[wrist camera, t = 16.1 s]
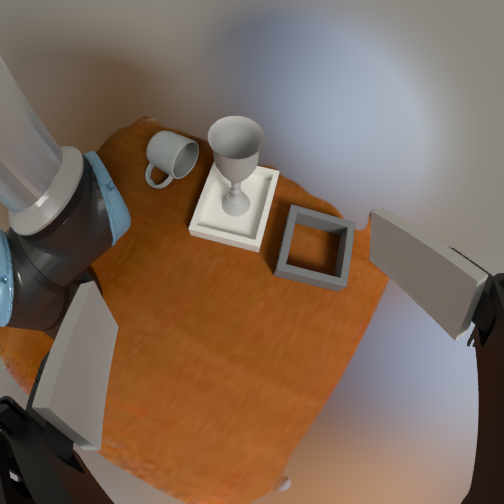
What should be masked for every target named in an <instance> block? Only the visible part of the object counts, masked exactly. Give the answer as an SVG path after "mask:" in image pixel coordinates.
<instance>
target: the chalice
mask: <svg viewBox="0 0 504 504" xmlns="http://www.w3.org/2000/svg"><path fill="white" fill-rule="evenodd" d="M264 137H265V136H264V133H263V130H262V128H261V127H260V126H259V125H258V124H257V123H256V122H254V121H253V120H251V119H248V118H245V117H242V116H230V117H225V118H222V119H220V120H218V121H217V122H215V123H214V124H213V125H212V126H211V128H210V130H209V132H208V141H209V145H210V146H211V147H212V149H213V154H214V162H215V165H216V167H217V169H218V170H219V171H220V173H221V174H222V175H223V176H224V177H225V178H226V179H228V180H229V181H230V182H231V186H232V187H231V189H230V190H231V191H229V192H228V193H227V194H226V195H225V196H224V198H223V200H222V209H223V210H224V212H225V213H227V214H228V215H230V216H236V217H238V216H242V215H244V214H245V213H246V212H247V211H248V210H249V208H250V200H249V198H248V197H247V195H246V194H245V193H244V192H242V191H241V187H240V186H241V182H242V181H244V180H245V179H247V178H248V177H249V176H250V175H251V174H252V173H253V171H254V170H255V169H256V166H257V164H258V157H259V151H260V149H262V147H263V144H264V142H265V138H264Z"/></svg>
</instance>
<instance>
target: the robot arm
mask: <svg viewBox="0 0 504 504" xmlns="http://www.w3.org/2000/svg"><path fill="white" fill-rule="evenodd" d="M0 202H1V203H2V204H3V205H5V206H6V207H7V208H8V209H9V222H10V225H11V227H10V228H9V229H8V230H7V231H6V232H5V233H4V232H3V231H2V230H1V229H0V326H1V327H4V326H7V327H14V328H21V329H30V330H38V331H42V332H44V333H45V334H47V335H48V336H50V337H51V338H53V339H54V340H55V341H54V343H53V346H52V348H51V351H50V352H48V353H47V355H46V356H45V357H44V359H43V360H42V362H41V364H40V367H39V370H38V374H37V375H36V378H35V382H34V384H33V387H32V390H31V393H30V397H29V400H28V404H27V407H26V410H24V409H23V408H22V407H21V406H19V405H18V403H16V402H15V401H14V400H13V399H12V398H11V397H9V396H4V397H2V398H0V430H1V431H0V504H114V503H113V502H112V500H111V499H110V498H109V497H108V495H107V494H106V493H105V492H104V490H103V489H102V488H101V486H100V485H99V484H98V482H97V481H96V480H95V478H94V477H93V475H92V474H91V473H90V471H89V470H88V468H87V467H86V465H85V464H84V462H83V461H82V459H81V458H80V456H79V455H78V454H77V453H76V451H75V450H73V443H76V444H77V445H78V446H79V447H81V448H83V449H84V450H101V437H102V426H103V416H104V407H105V400H106V392H107V385H108V379H109V373H110V367H111V362H112V356H113V351H114V346H115V341H116V336H117V332H118V325H117V323H116V322H115V320H114V318H113V316H112V314H111V313H110V311H109V309H108V307H107V305H106V303H105V301H104V299H103V296H102V290H101V287H100V284H99V282H98V280H97V278H96V276H95V275H94V273H93V272H92V271H91V270H90V269H88V268H87V267H89V266H90V265H91V264H92V263H93V262H94V261H95V260H96V259H98V258H99V257H100V256H101V255H102V254H103V253H104V252H106V251H107V250H108V249H109V248H110V247H112V246H114V245H115V243H116V241H117V240H118V239H119V238H120V237H121V236H122V235H123V234H124V233H125V232H126V231H127V230H128V229H129V227H130V224H131V217H130V214H129V211H128V209H127V207H126V205H125V203H124V201H123V199H122V197H121V195H120V193H119V191H118V189H117V188H116V186H115V185H114V184H113V181H112V179H111V177H110V175H109V173H108V171H107V169H106V168H105V166H104V164H103V163H102V161H101V159H100V158H99V156H98V155H97V154H96V153H95V152H94V151H90V152H88V153H85V154H83V155H82V154H81V153H80V151H79V150H78V149H77V148H75V147H73V146H60V147H59V146H58V144H57V143H56V141H55V140H54V139H53V137H52V136H51V135H50V133H49V132H48V130H47V129H46V127H45V126H44V125H43V123H42V122H41V120H40V119H39V117H38V116H37V114H36V113H35V111H34V110H33V108H32V107H31V105H30V104H29V103H28V101H27V99H26V98H25V96H24V94H23V93H22V91H21V90H20V88H19V86H18V85H17V83H16V81H15V80H14V78H13V76H12V75H11V73H10V71H9V70H8V68H7V66H6V64H5V63H4V61H3V59H2V57H1V55H0ZM369 260H370V261H371V262H372V263H373V264H375V265H376V266H377V267H378V268H379V269H380V270H381V271H383V272H384V273H385V274H386V275H387V276H388V277H389V278H390V279H391V280H393V281H394V282H395V283H396V284H397V285H398V286H399V287H400V288H401V289H403V290H404V291H405V292H406V293H407V294H408V295H409V296H410V297H411V298H412V299H413V300H414V301H415V302H416V303H417V304H418V305H420V306H421V307H422V308H423V309H424V310H425V311H426V312H427V313H428V314H429V315H430V316H431V317H432V318H433V319H434V320H435V321H436V322H437V323H438V324H439V325H440V326H441V327H442V328H443V329H444V330H445V331H446V332H447V333H448V334H449V335H450V336H451V337H452V338H453V339H454V340H457V339H458V338H460V337H461V336H463V335H464V334H465V333H466V332H467V330H468V328H469V326H470V323H471V321H472V322H473V323H474V324H475V327H474V330H473V332H472V334H471V336H470V338H469V340H468V342H467V346H470V344H471V342H472V340H473V339H474V343H473V347H475V349H476V358H477V369H478V391H479V417H478V437H477V449H476V457H475V465H474V471H473V477H472V483H471V487H470V490H469V493H468V494H467V496H466V497H465V498H464V499H463V501H462V502H461V504H504V273H498V274H496V275H495V276H492V275H491V274H490V273H488V272H487V271H485V270H484V269H483V268H481V267H480V266H478V265H477V264H476V263H474V262H473V261H471V260H469V259H468V258H467V257H465V256H464V255H463V256H462V254H461V253H460V252H458V251H457V250H455V249H454V248H451V247H448V246H446V245H445V244H443V243H442V242H440V241H439V240H437V239H435V238H434V237H432V236H430V235H429V234H427V233H426V232H424V231H422V230H421V229H419V228H417V227H416V226H414V225H412V224H411V223H409V222H407V221H406V220H404V219H402V218H400V217H399V216H397V215H395V214H393V213H391V212H390V211H388V210H386V209H384V208H382V209H377V210H373V211H371V240H370V258H369ZM9 471H10V472H12V473H13V474H15V475H17V476H18V482H17V481H15V480H13V479H12V478H10V473H9Z"/></svg>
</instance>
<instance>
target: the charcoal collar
mask: <svg viewBox="0 0 504 504" xmlns="http://www.w3.org/2000/svg"><path fill="white" fill-rule="evenodd" d="M295 223H297V224H301V225H305V226H308V227H312V228H316V229H319V230H323V231H327V232H330V233H334V234H337V235H340V240H339V247H338V254H337V260H336V267H335V273H334V276H331V275H327V274H323V273H319V272H315V271H311V270H307V269H303V268H299V267H295V266H291V265H287V264H286V262H287V258H288V253H289V249H290V244H291V240H292V235H293V230H294V226H295ZM354 227H355V223H354V222H351V221H348V220H345V219H341V218H338V217H335V216H331V215H328V214H324V213H321V212H317V211H314V210H310V209H306V208H303V207H299V206H295V205H291V207H290V210H289V212H288V215H287V220H286V224H285V229H284V233H283V237H282V242H281V246H280V250H279V255H278V259H277V263H276V267H275V271H274V276H278V277H282V278H286V279H290V280H294V281H298V282H302V283H306V284H310V285H314V286H318V287H322V288H326V289H330V290H334V291H340V290H342V289H344V288H346V287H347V280H348V274H349V267H350V260H351V253H352V245H353V236H354Z"/></svg>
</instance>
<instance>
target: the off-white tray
mask: <svg viewBox="0 0 504 504" xmlns="http://www.w3.org/2000/svg"><path fill="white" fill-rule="evenodd" d="M278 175H279V171H276V170H272V169H268V168H264V167H260V166H256V169H255V170H254V171H253V173H252V174H251V175H250V176H249V177H248V178H247V179H245V180H244V181H242V182H241V186H240V187H241V191H242V192H244V193H245V194H246V195H247V197H248V198H249V200H250V208H249V210H248V211H247V212H246V213H245V214H244V215H242V216H238V217H236V216H230V215H228V214H227V213H225V212H224V210H223V209H222V200H223V198H224V196H225V195H226V194H227V193H228V192H229V191H231V190H230V189H231V187H232V186H231V182H230V181H229V180H228V179H226V178H225V177H224V176H223V175H222V174H221V173H220V171H219V170H218V169H217V167H216V165H215V162H214V163H213V166H212V168H211V171H210V173H209V176H208V178H207V181H206V183H205V186H204V188H203V191H202V193H201V196H200V199H199V201H198V204H197V207H196V209H195V212H194V215H193V218H192V220H191V223H190V226H189V232H190V234H191V235H192V236H196V237H200V238H204V239H208V240H212V241H216V242H220V243H224V244H227V245H231V246H235V247H239V248H243V249H247V250H251V251H255V252H259V250H260V246H261V242H262V238H263V234H264V230H265V226H266V223H267V219H268V215H269V211H270V207H271V203H272V199H273V195H274V191H275V187H276V184H277V180H278Z"/></svg>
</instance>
